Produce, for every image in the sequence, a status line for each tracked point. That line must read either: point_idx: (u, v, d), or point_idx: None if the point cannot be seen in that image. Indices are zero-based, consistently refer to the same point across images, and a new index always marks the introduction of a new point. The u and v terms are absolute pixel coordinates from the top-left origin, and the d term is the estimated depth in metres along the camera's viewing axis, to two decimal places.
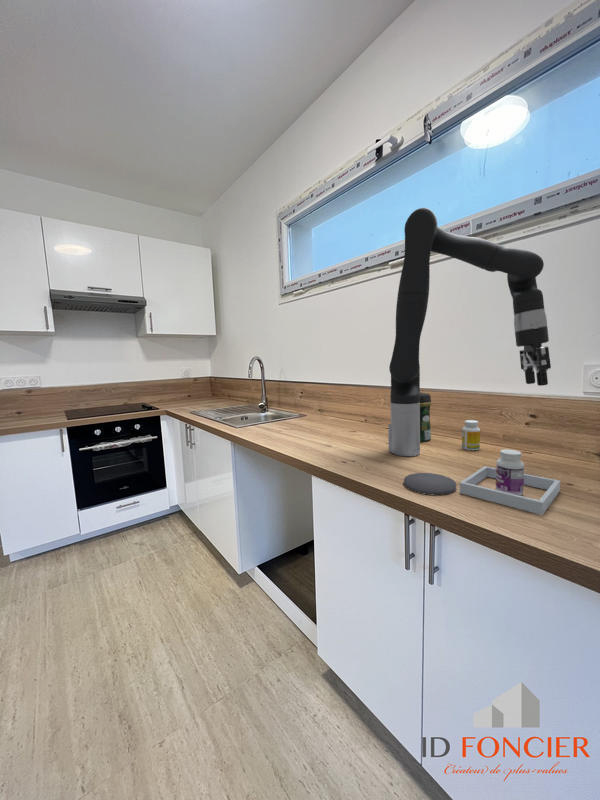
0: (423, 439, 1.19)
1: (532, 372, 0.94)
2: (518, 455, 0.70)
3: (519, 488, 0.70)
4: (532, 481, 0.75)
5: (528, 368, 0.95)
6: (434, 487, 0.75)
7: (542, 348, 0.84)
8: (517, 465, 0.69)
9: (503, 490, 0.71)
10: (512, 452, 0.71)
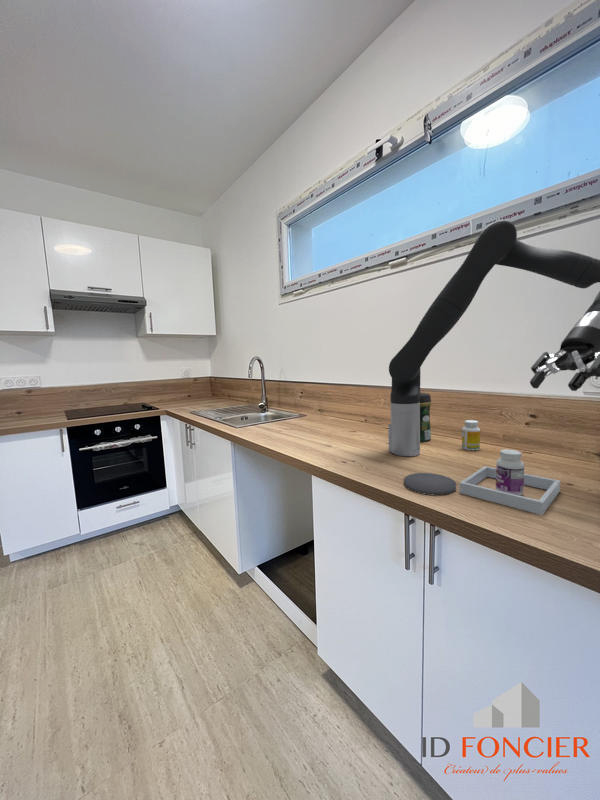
0: (423, 439, 1.19)
1: (543, 377, 0.77)
2: (518, 455, 0.70)
3: (519, 488, 0.70)
4: (532, 481, 0.75)
5: (543, 371, 0.78)
6: (434, 487, 0.75)
7: None
8: (517, 465, 0.69)
9: (503, 490, 0.71)
10: (512, 452, 0.71)
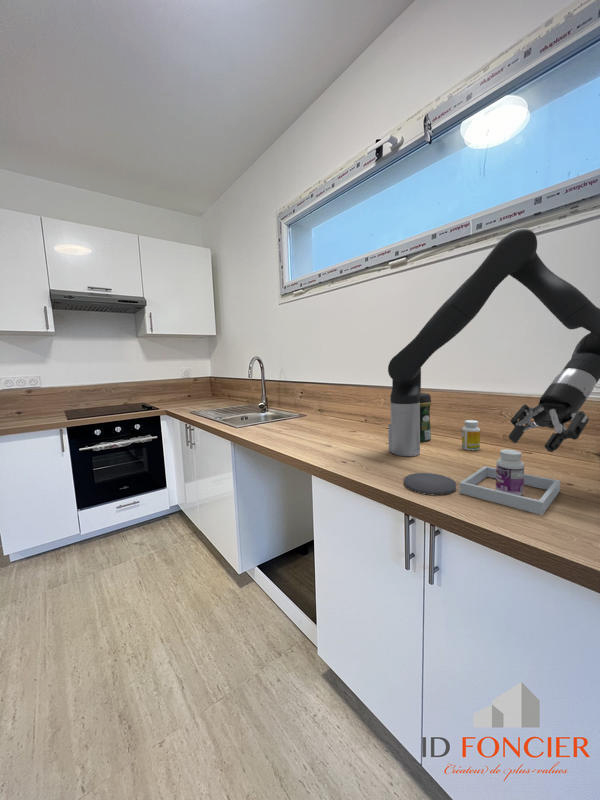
0: (423, 439, 1.19)
1: (522, 432, 0.77)
2: (518, 455, 0.70)
3: (519, 488, 0.70)
4: (532, 481, 0.75)
5: (522, 425, 0.78)
6: (434, 487, 0.75)
7: (585, 416, 0.68)
8: (517, 465, 0.69)
9: (503, 490, 0.71)
10: (512, 452, 0.71)
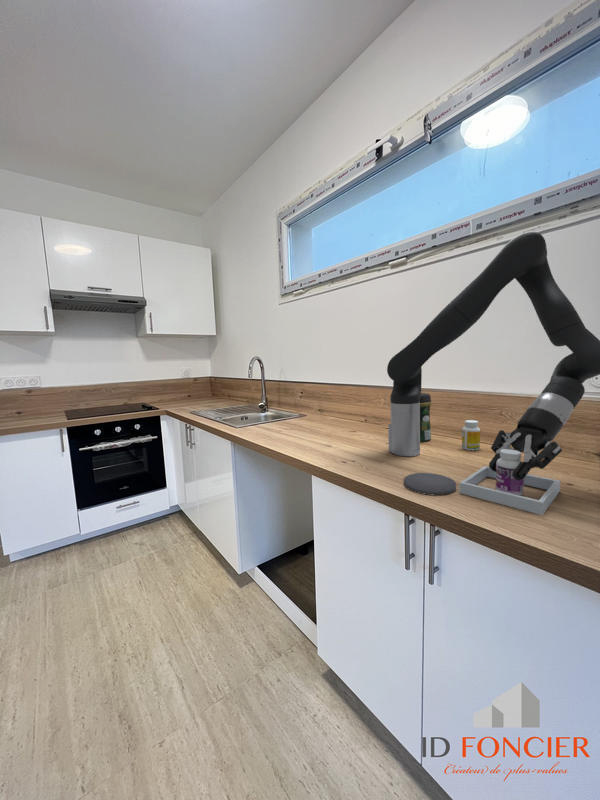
0: (423, 439, 1.19)
1: None
2: (518, 455, 0.70)
3: (519, 488, 0.70)
4: (532, 481, 0.75)
5: None
6: (434, 487, 0.75)
7: (558, 447, 0.66)
8: (516, 465, 0.69)
9: (503, 489, 0.71)
10: (512, 452, 0.71)
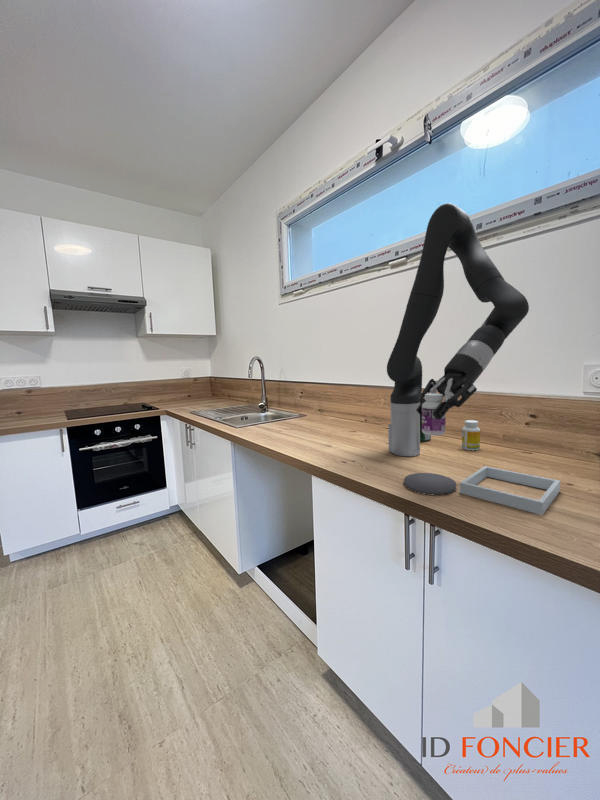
0: (423, 439, 1.19)
1: None
2: (439, 396, 0.74)
3: (440, 428, 0.74)
4: (532, 481, 0.75)
5: None
6: (434, 487, 0.75)
7: (473, 386, 0.71)
8: (437, 405, 0.74)
9: (426, 430, 0.76)
10: (434, 394, 0.75)
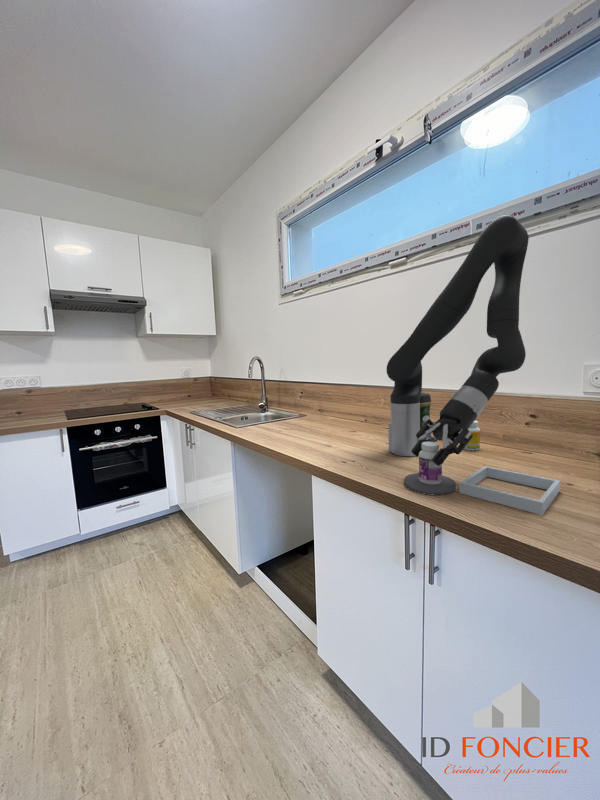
0: None
1: None
2: (435, 446, 0.76)
3: (436, 477, 0.76)
4: (532, 481, 0.75)
5: (424, 440, 0.82)
6: (434, 487, 0.75)
7: (469, 432, 0.72)
8: (433, 456, 0.75)
9: (423, 479, 0.77)
10: (431, 444, 0.77)
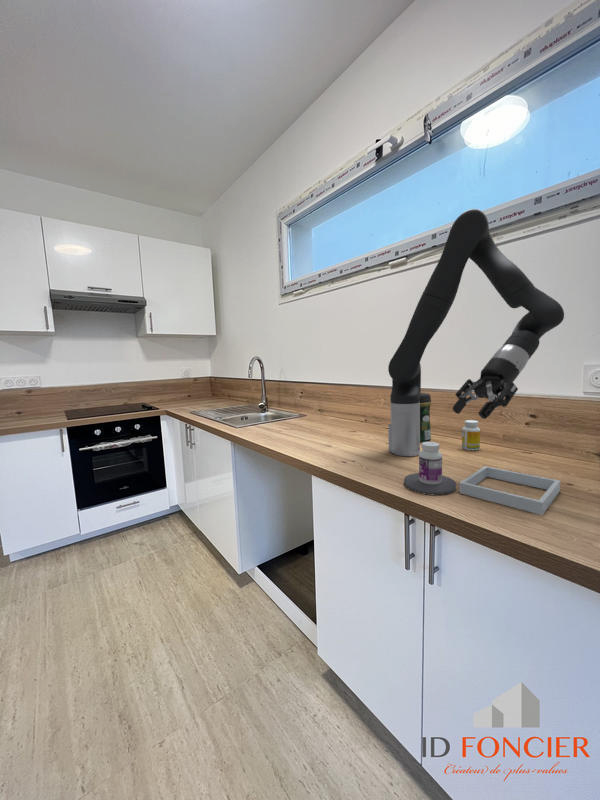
0: (423, 439, 1.19)
1: (464, 403, 0.84)
2: (435, 447, 0.76)
3: (436, 477, 0.76)
4: (532, 481, 0.75)
5: (465, 398, 0.84)
6: (434, 487, 0.75)
7: (514, 385, 0.74)
8: (434, 456, 0.75)
9: (423, 479, 0.77)
10: (431, 444, 0.77)
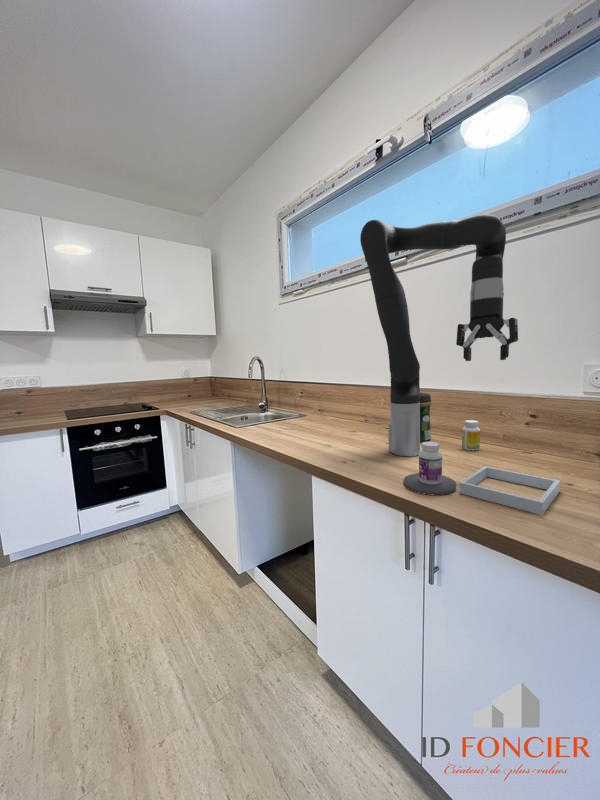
0: (423, 439, 1.19)
1: (470, 349, 0.88)
2: (435, 447, 0.76)
3: (436, 477, 0.76)
4: (532, 481, 0.75)
5: None
6: (434, 487, 0.75)
7: (515, 319, 0.79)
8: (433, 456, 0.75)
9: (423, 479, 0.77)
10: (431, 444, 0.77)
